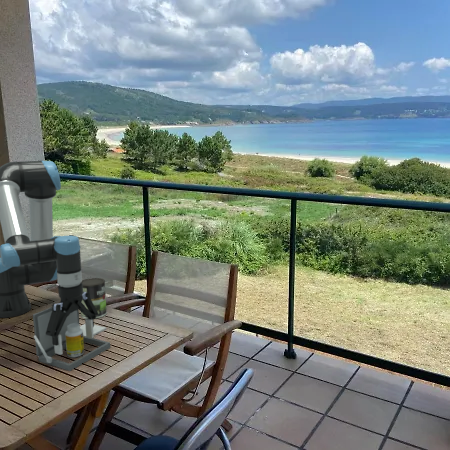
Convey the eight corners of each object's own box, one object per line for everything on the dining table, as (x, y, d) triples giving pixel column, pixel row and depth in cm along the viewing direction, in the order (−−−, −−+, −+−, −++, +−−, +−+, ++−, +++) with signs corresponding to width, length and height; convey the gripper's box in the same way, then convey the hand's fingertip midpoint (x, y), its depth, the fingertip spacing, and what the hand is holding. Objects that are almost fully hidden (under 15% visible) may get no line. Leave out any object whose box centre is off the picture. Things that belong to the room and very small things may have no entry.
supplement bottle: (84, 356, 146) (82, 327, 144) (67, 359, 144) (64, 329, 142) (84, 349, 151) (82, 320, 149) (66, 351, 149) (64, 323, 147)
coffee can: (111, 310, 186) (109, 278, 183) (99, 320, 176) (97, 286, 173) (88, 309, 188) (86, 277, 185) (76, 318, 178) (73, 284, 175)
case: (34, 362, 142) (29, 315, 139) (79, 339, 159) (75, 297, 156) (67, 372, 135) (63, 324, 132) (110, 347, 152) (107, 303, 149)
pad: (66, 334, 163) (66, 332, 163) (86, 324, 172) (86, 322, 172) (86, 339, 158) (86, 337, 158) (106, 329, 167) (106, 327, 167)
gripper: (46, 297, 130) (52, 363, 134) (106, 275, 152) (109, 332, 156) (29, 293, 134) (35, 358, 138) (89, 272, 155) (93, 328, 159)
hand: (75, 345), depth 147 cm, fingers open, 13 cm apart
